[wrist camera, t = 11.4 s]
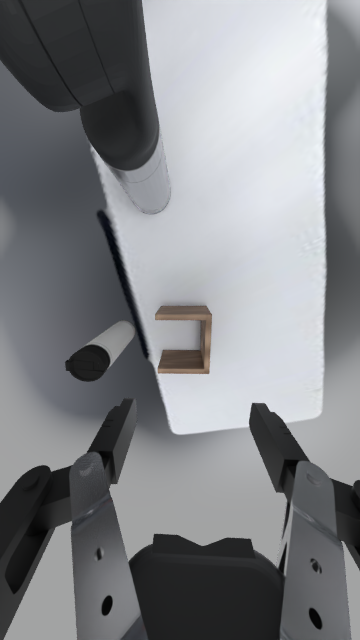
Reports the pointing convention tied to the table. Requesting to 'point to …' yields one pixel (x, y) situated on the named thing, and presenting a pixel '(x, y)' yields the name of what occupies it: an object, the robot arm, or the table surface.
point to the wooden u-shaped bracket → (187, 358)
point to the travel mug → (100, 352)
